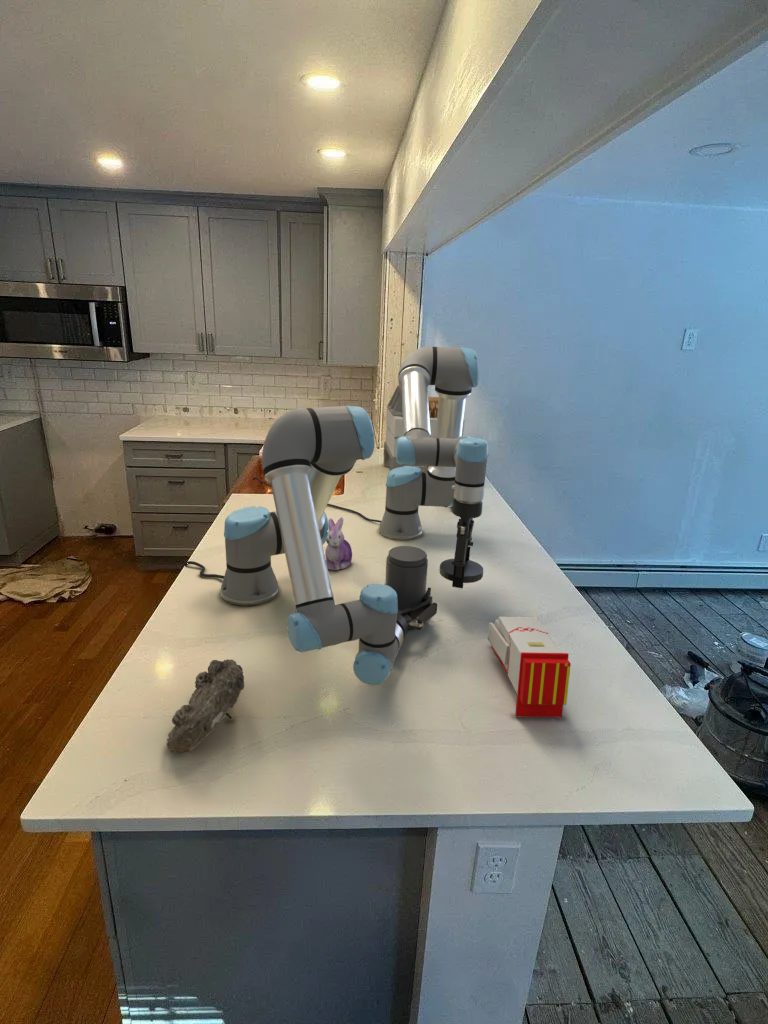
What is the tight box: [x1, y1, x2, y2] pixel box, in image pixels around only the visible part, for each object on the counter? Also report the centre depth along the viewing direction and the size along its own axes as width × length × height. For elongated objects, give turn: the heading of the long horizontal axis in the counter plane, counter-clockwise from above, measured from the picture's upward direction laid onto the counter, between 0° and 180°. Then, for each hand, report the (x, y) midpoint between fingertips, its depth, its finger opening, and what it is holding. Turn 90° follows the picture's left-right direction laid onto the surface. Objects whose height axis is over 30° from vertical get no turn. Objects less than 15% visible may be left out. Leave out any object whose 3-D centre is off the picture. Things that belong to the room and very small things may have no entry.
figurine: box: [324, 517, 353, 571], centre depth 171 cm, size 9×10×15 cm
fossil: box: [166, 658, 245, 754], centre depth 106 cm, size 22×10×15 cm
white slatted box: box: [383, 384, 465, 472], centre depth 268 cm, size 34×33×41 cm
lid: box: [439, 558, 484, 584], centre depth 151 cm, size 12×12×2 cm
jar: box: [384, 545, 429, 630], centre depth 142 cm, size 10×10×18 cm
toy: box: [487, 616, 572, 718], centre depth 123 cm, size 12×13×30 cm
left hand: (408, 588), depth 147 cm, fingers closed on jar, 10 cm apart
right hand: (460, 577), depth 151 cm, fingers closed on lid, 11 cm apart
